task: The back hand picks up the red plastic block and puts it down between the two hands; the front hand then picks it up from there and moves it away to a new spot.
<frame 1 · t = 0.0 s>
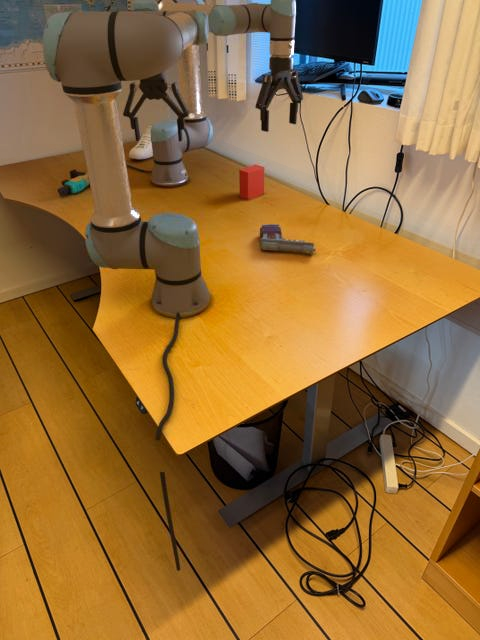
front hand: (159, 140, 150), 28 cm above the table, tool pointing down, fingers open, 13 cm apart
back hand: (279, 127, 161), 28 cm above the table, tool pointing down, fingers open, 13 cm apart
toy gun 2: (76, 187, 195), on the table
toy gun: (286, 245, 151), on the table
block: (251, 195, 186), on the table
sneaker: (147, 154, 230), on the table
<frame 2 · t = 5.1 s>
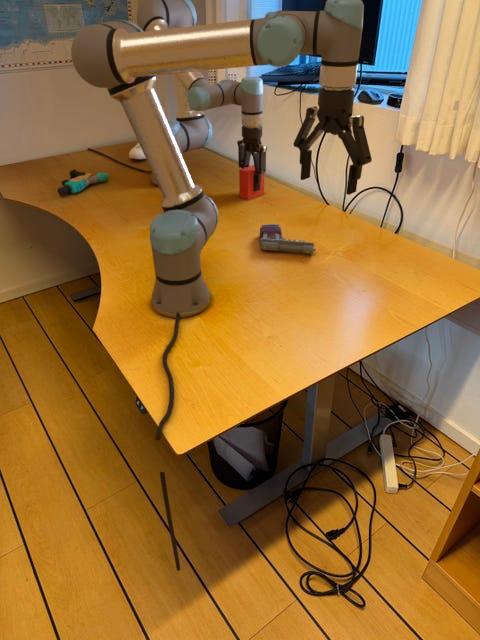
front hand: (327, 185, 112), 29 cm above the table, tool pointing down, fingers open, 13 cm apart
back hand: (251, 188, 184), 3 cm above the table, tool pointing down, fingers closed on block, 5 cm apart
block: (251, 195, 186), on the table, touching back hand
everything else where it was.
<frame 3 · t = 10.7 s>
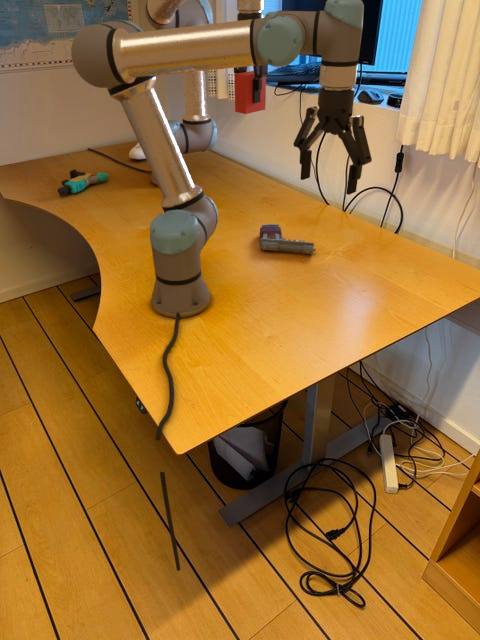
front hand: (327, 185, 112), 29 cm above the table, tool pointing down, fingers open, 13 cm apart
back hand: (250, 100, 148), 38 cm above the table, tool pointing down, fingers closed on block, 5 cm apart
block: (250, 110, 149), point 35 cm above the table, touching back hand
everything else where it was.
when the back hand's fingers open (4 cm above the table, at t = 16.2 s): block drops 2 cm, on the table.
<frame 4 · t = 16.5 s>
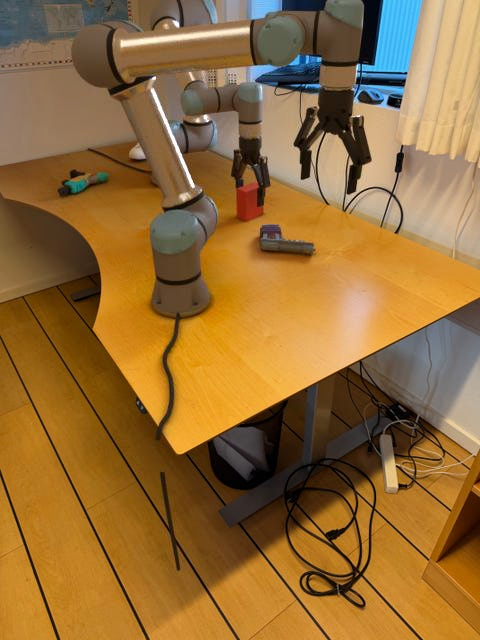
front hand: (327, 185, 112), 29 cm above the table, tool pointing down, fingers open, 13 cm apart
back hand: (250, 201, 167), 5 cm above the table, tool pointing down, fingers open, 9 cm apart
block: (250, 215, 170), on the table
everything else where it was.
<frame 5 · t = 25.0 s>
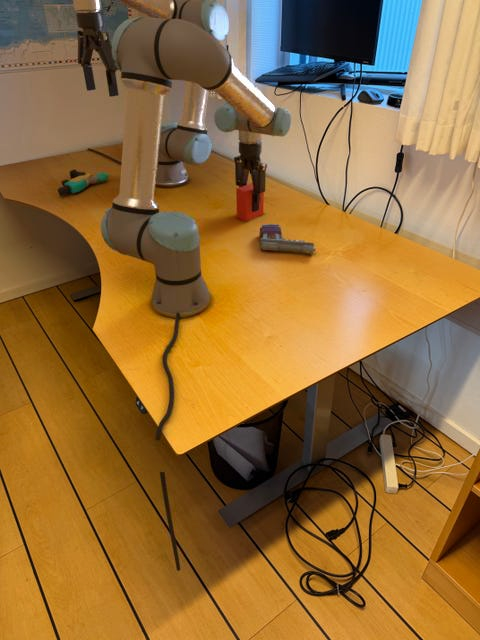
front hand: (250, 208, 168), 3 cm above the table, tool pointing down, fingers closed on block, 5 cm apart
back hand: (102, 93, 148), 41 cm above the table, tool pointing down, fingers open, 13 cm apart
block: (250, 215, 170), on the table, touching front hand
everything else where it was.
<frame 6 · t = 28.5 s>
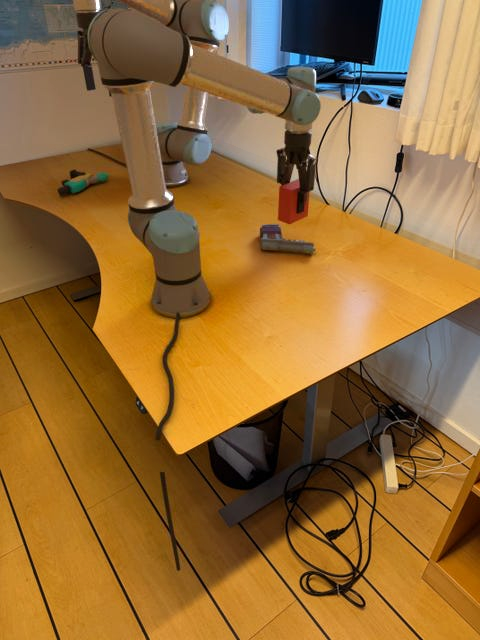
front hand: (293, 209, 145), 12 cm above the table, tool pointing down, fingers closed on block, 5 cm apart
back hand: (102, 93, 148), 41 cm above the table, tool pointing down, fingers open, 13 cm apart
block: (292, 218, 147), point 9 cm above the table, touching front hand
everything else where it was.
when the front hand's fingers open (4 cm above the table, at t = 32.2 s): block drops 2 cm, on the table.
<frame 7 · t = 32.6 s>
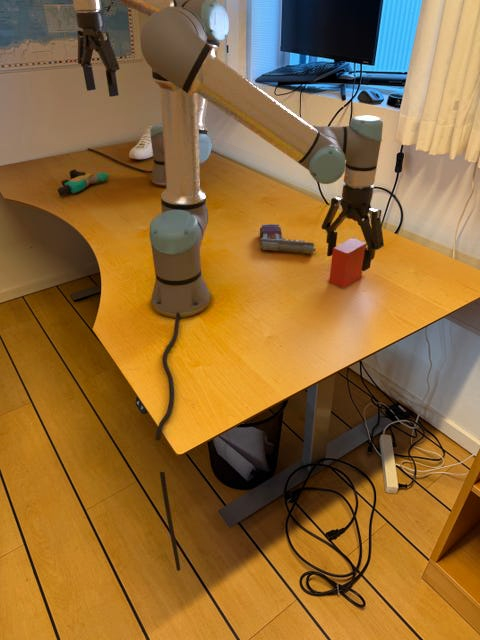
front hand: (347, 261, 131), 6 cm above the table, tool pointing down, fingers open, 11 cm apart
back hand: (102, 93, 148), 41 cm above the table, tool pointing down, fingers open, 13 cm apart
block: (345, 279, 134), on the table
everything else where it was.
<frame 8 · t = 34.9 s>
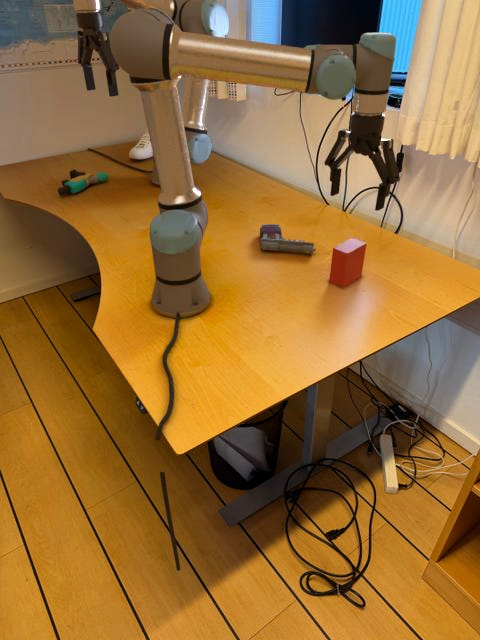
front hand: (356, 201, 121), 23 cm above the table, tool pointing down, fingers open, 13 cm apart
back hand: (102, 93, 148), 41 cm above the table, tool pointing down, fingers open, 13 cm apart
nothing on the table moved.
at the end: block inside the target area (0.1 cm from its centre), on the table; block tilted 0°; the two hands never held the block at the same time; the front hand is holding nothing; the back hand is holding nothing; block at rest at the end (0.0 cm/s) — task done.
